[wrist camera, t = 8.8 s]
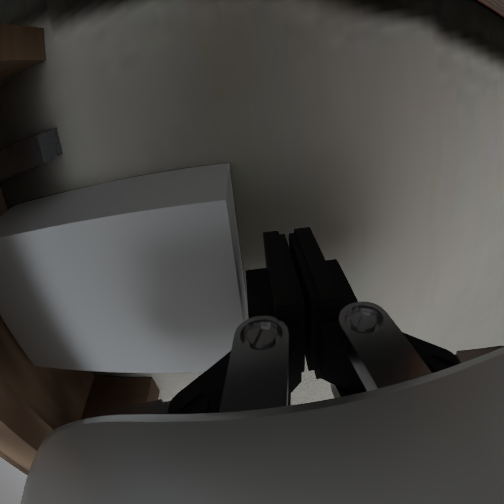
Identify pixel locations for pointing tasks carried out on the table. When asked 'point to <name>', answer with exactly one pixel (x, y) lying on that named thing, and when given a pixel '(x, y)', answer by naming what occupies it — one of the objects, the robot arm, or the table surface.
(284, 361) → the robot arm
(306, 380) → the table surface
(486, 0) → the cracker box
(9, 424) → the overhang cubby
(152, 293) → the white rectangular block
